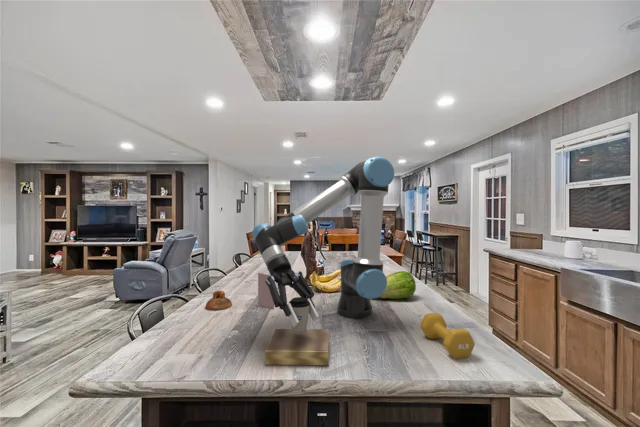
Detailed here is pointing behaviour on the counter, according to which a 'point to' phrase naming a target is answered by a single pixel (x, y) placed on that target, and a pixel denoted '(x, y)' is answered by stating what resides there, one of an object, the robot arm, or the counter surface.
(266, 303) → the greeting card
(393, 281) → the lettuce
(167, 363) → the counter surface
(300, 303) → the coffee cup
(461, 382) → the counter surface
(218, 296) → the brown round patterned piece
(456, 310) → the counter surface
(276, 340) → the brown flat square block
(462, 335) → the dumbbell
